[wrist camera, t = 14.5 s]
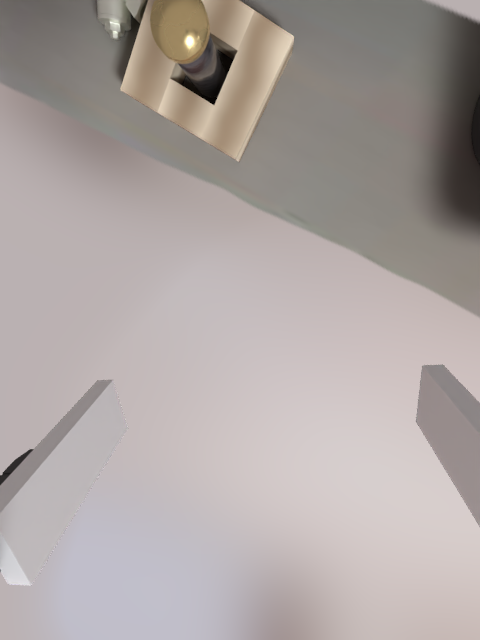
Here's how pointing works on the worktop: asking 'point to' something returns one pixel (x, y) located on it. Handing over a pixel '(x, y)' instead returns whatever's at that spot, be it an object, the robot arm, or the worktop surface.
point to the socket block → (239, 86)
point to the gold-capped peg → (188, 42)
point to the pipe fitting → (119, 15)
